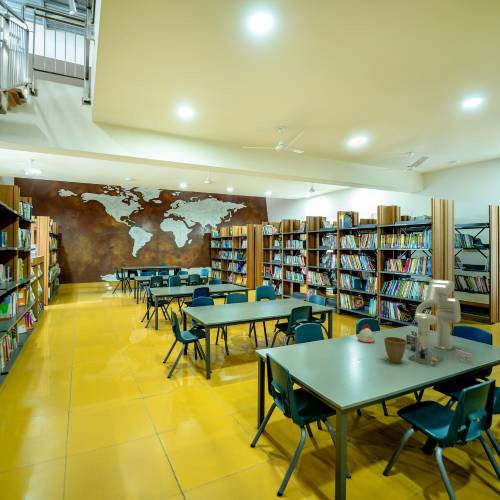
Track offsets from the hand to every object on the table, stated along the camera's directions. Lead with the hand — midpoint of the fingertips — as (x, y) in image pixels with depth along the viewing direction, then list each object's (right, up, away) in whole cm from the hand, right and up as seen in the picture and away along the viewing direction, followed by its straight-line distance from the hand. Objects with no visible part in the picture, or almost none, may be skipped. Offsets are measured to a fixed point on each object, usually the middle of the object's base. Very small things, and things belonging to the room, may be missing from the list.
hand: (423, 357), depth 230 cm
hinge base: (+4, -3, +3) cm, 6 cm away
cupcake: (-24, -3, +50) cm, 55 cm away
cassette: (+28, -3, -1) cm, 29 cm away
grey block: (0, -1, 0) cm, 1 cm away
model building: (+7, -3, +27) cm, 28 cm away
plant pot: (-21, -3, +1) cm, 21 cm away
